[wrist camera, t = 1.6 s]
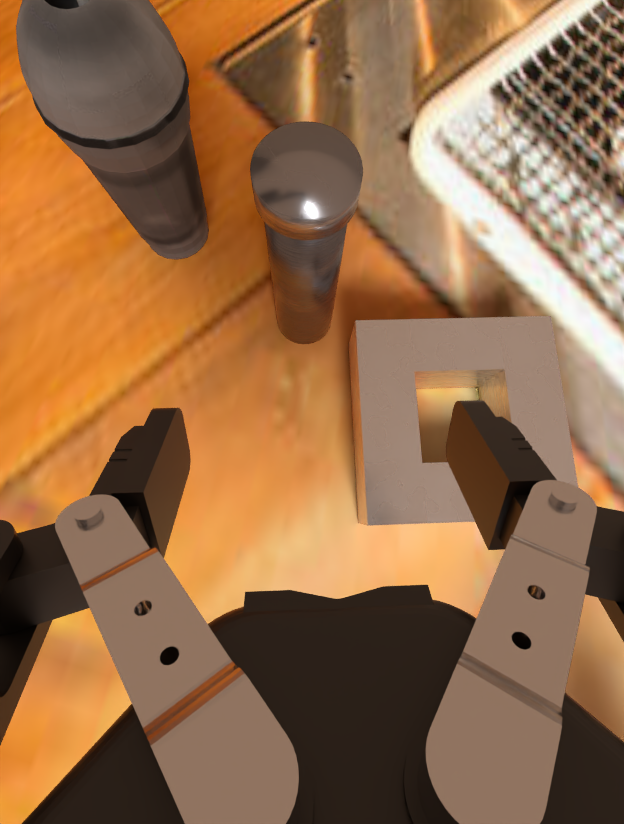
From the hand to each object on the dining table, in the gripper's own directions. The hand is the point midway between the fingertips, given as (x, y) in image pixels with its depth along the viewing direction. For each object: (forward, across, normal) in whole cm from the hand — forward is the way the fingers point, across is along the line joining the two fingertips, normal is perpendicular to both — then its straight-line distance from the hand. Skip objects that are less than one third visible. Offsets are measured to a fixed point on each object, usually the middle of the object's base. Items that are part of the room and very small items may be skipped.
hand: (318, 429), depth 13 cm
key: (+19, 0, +4) cm, 19 cm away
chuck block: (+13, -9, +9) cm, 19 cm away
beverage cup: (+24, +9, -1) cm, 26 cm away
